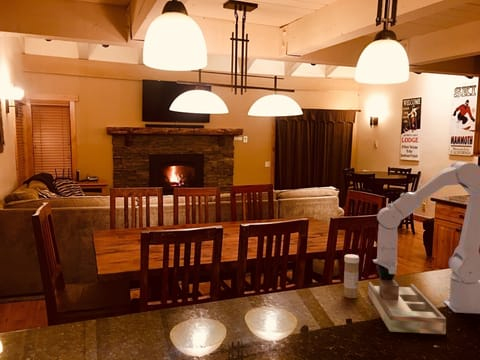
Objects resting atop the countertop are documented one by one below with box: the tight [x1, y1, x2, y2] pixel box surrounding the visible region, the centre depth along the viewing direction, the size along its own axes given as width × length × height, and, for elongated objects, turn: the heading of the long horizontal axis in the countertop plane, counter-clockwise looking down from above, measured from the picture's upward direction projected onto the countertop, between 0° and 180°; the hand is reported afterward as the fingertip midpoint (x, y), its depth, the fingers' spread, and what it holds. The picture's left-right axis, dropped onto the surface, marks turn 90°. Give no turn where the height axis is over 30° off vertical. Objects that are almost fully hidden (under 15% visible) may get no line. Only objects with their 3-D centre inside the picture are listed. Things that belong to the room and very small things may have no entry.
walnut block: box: [378, 279, 400, 300], centre depth 119 cm, size 4×4×4 cm
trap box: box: [367, 281, 447, 335], centre depth 116 cm, size 14×26×4 cm, turn 174°
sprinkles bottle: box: [343, 253, 360, 299], centre depth 127 cm, size 5×5×13 cm
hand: (385, 289), depth 123 cm, fingers closed
